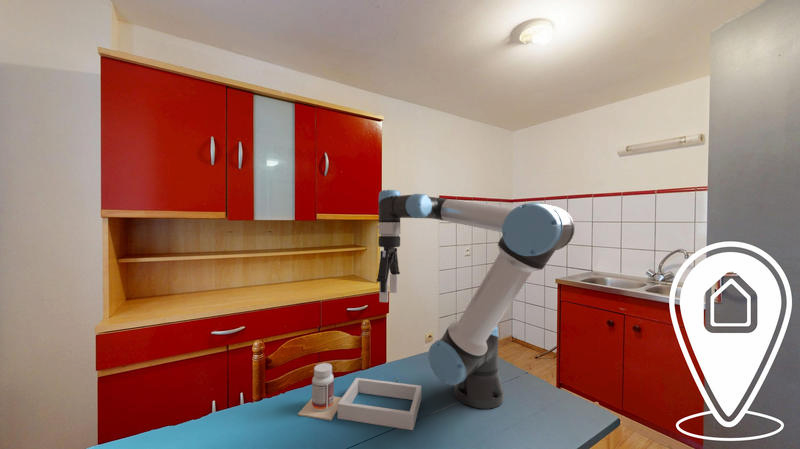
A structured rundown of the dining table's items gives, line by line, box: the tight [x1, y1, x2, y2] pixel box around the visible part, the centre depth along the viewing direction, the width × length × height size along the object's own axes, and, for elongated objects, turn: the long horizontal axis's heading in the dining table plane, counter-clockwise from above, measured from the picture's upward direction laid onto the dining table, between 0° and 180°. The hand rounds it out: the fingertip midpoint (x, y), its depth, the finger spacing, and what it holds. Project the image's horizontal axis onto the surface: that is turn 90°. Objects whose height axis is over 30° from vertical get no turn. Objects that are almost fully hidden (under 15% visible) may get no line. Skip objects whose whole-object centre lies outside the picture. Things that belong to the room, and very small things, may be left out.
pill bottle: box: [311, 362, 335, 411], centre depth 87 cm, size 6×6×11 cm
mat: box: [297, 396, 342, 421], centre depth 87 cm, size 10×10×1 cm
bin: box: [337, 377, 422, 431], centre depth 87 cm, size 21×14×4 cm
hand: (388, 297), depth 102 cm, fingers open, 13 cm apart
